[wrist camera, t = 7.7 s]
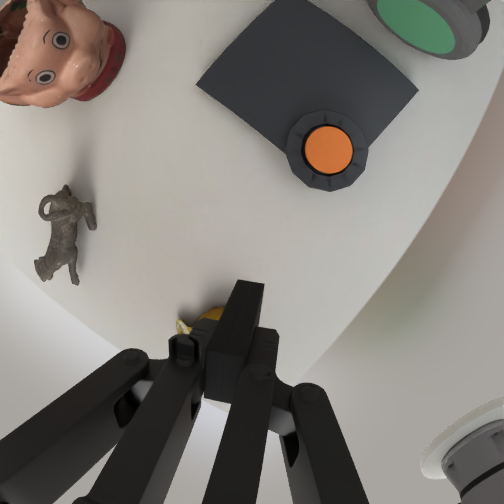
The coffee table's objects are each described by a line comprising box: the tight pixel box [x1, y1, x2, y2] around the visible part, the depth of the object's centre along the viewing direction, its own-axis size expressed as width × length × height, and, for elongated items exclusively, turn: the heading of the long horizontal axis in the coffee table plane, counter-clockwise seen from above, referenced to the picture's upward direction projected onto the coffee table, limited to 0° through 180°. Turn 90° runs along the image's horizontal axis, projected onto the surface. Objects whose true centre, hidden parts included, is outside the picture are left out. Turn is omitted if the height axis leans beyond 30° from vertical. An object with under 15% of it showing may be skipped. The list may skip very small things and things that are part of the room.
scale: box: [196, 0, 419, 192], centre depth 22 cm, size 16×14×4 cm
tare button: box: [305, 126, 353, 173], centre depth 22 cm, size 4×4×2 cm
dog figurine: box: [34, 185, 97, 286], centre depth 28 cm, size 12×6×7 cm, turn 155°
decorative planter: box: [0, 0, 126, 108], centre depth 18 cm, size 20×12×14 cm, turn 62°
